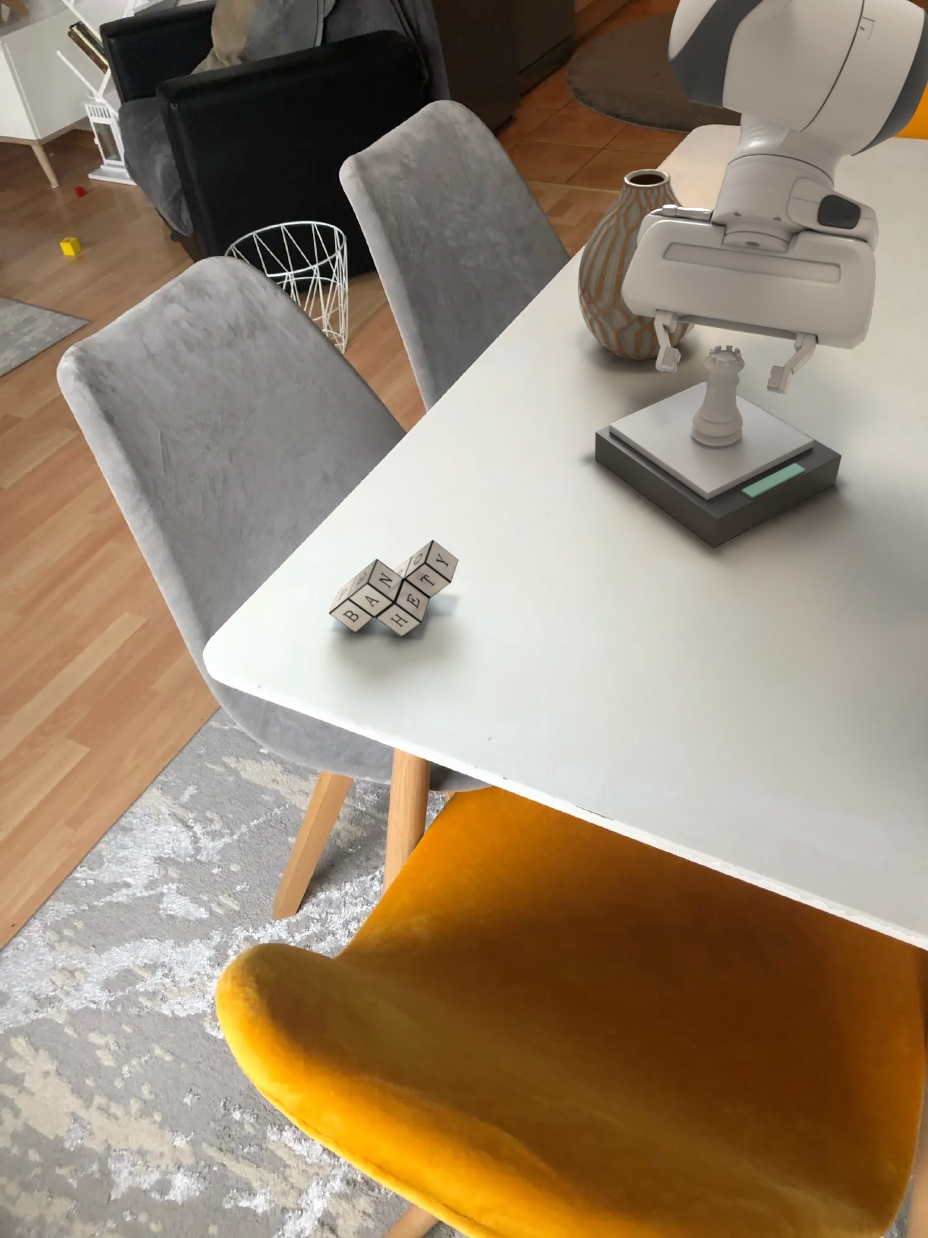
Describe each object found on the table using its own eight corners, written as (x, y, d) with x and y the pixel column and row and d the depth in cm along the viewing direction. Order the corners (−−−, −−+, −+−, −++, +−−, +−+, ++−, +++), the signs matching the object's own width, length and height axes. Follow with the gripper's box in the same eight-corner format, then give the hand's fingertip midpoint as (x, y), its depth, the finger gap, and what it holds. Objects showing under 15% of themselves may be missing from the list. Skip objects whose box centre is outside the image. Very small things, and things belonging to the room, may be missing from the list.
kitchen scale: (835, 483, 84) (843, 447, 81) (713, 547, 79) (718, 511, 77) (709, 405, 94) (712, 371, 91) (594, 458, 89) (595, 424, 87)
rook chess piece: (727, 455, 82) (738, 372, 76) (680, 440, 84) (687, 358, 78) (751, 429, 84) (763, 346, 78) (704, 415, 86) (713, 334, 80)
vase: (699, 378, 98) (716, 204, 85) (571, 374, 100) (569, 205, 88) (703, 315, 106) (719, 150, 94) (585, 313, 109) (585, 152, 97)
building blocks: (381, 651, 77) (443, 606, 72) (328, 613, 75) (387, 565, 70) (398, 605, 80) (458, 559, 75) (348, 568, 78) (406, 518, 73)
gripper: (639, 185, 80) (593, 348, 81) (898, 213, 72) (843, 393, 73) (655, 217, 86) (611, 369, 87) (895, 247, 78) (845, 413, 79)
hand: (719, 380), depth 80 cm, fingers open, 8 cm apart
